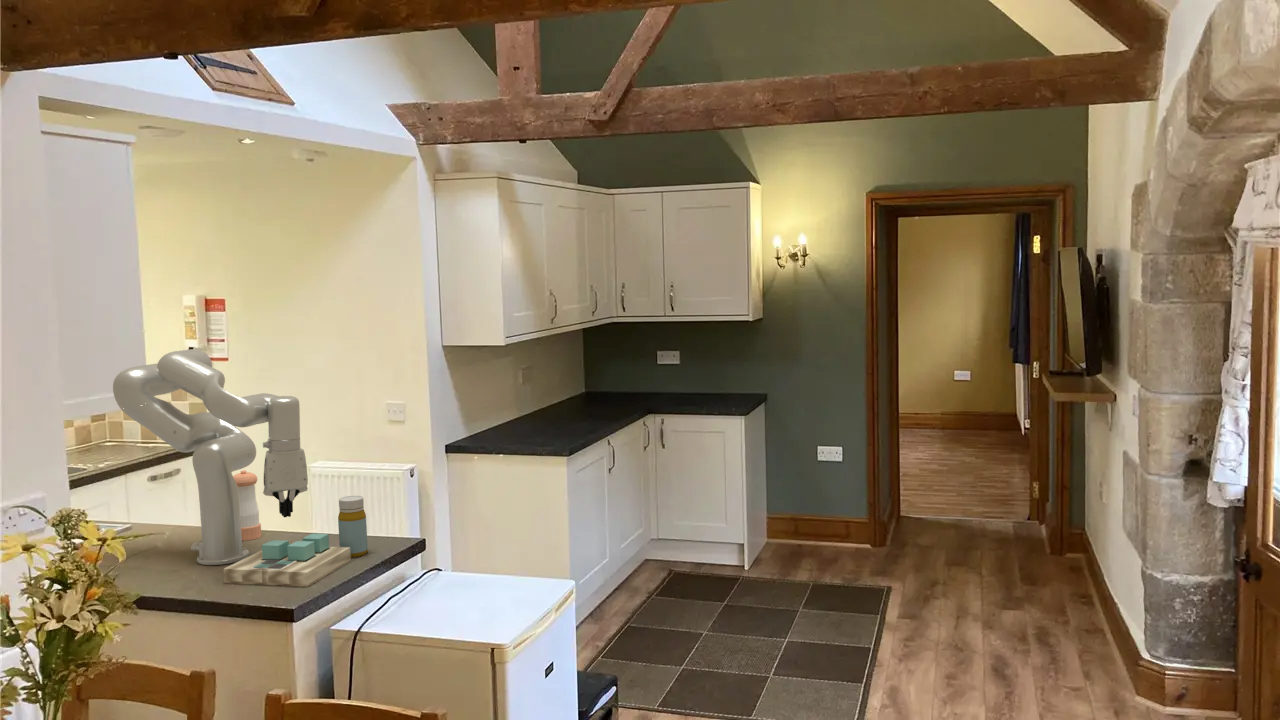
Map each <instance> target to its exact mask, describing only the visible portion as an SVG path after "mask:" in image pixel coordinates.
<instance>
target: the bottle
mask: <svg viewBox="0 0 1280 720" xmlns="http://www.w3.org/2000/svg"><path fill="white" fill-rule="evenodd" d="M364 501H365V500H364V497H363V496H362V495H347V496H346V495H345V496H342V497H340V498H339V499H338V507H339V510H338V511H339V513H338V516H337V523H338V524H337V525H338V540H339V541H338V542H339V547H350V554H351V559H352V558H353V559H354V558H359V557H363V556H365V555H366V554H367V553H368V551H369V550H368V549H369V546H368V544H369V543H368V530H367V529H368V528H367V514H366V512H365V510H364V509H365V508H364V507H365V505H364Z"/></svg>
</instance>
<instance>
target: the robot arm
mask: <svg viewBox="0 0 1280 720" xmlns="http://www.w3.org/2000/svg"><path fill="white" fill-rule="evenodd" d="M225 383H226V378H225V375H224V373H223V371H220V370H219V369H216V368H214V367H213V362H212V360H211V357H210V356H209V355H208V354H207V353H206V352H205V351H203V350H201V349H196V348H195V349H194V348H193V349H192V348H191V349H190V348H189V349H182V350H175V351H171V352H168V353H166V354H163V356H162V357H160V358H159V360H158V361H157V362H156V363H151V364H145V365H144V364H143V365H136V366H132V367H129V368H126V369H124V370H122V371H120V372H119V373H118V374H117V375H116V376H115V377H114V380H113V383H112V391H113V397H114V399H115V402H116V404H117V406H118V407H119V409H120V410H121V412H123V413H124V414H125V415H126V416H127V417H128V418H130V419H131V420H133V421H134V422H136V423H138V424H140V425H141V426H142V427H145V428H146V429H147V430H148V431H150V432H151V433H152V434H154V435H155V436H157V438H159V439H161V440H162V442H164V443H166V444H167V445H169V446H170V447H171V448H173V449H175V451H178V452H180V453H191V452H193V455H192V458H191V459H192V461H191V462H192V466H193V467H192V468H193V471H194V473H195V477H196V482H197V483H196V484H197V489H198V501H199V512H200V513H199V514H200V526H201V541H193V543H192V544H191V546H190V551H191V552H199V554H198V555H197V557H196V561H197V563H198V564H199V565H205V566H219V565H221V566H222V565H226V564H227V565H228V564H234V563H237V562H239V561H241V560H243V559H245V558H247V557H249V556H250V552H249V550H248V549H247V548H245V547H243V541H242V536H241V520H240V505H239V492H238V487H237V484H236V481H235V480H234V478H233V476H234V475H233V474H232V473H233V472H235V471H238V470H242V469H245V468H246V467H248V466H250V465H251V464H252V463H253V462H254V461H255V459H256V457H257V447H256V445H255V442H254V441H253V440H252V438H251V437H249V436H248V435H247V434H246V433H245V432H243V431H242V430H240V428H248V427H249V428H250V427H252V426H256V425H261V424H265V423H268V438H267V441H265V442H262V448H264V449H265V448H266V449H268V450H266V451H265V457H264V464H263V465H264V466H263V491H262V493H263V495H264V496H268V497H274V498H275V499H277V500H278V506H279V507H278V510H279V514H280V515H281V516H282V517H283V518H291V516H292V513H293V512H294V509H293V508H294V505H293V504H294V503H293V501H295V498H296V497H297V496H298V495H299V494H302V493H304V492H306V491H309V490H308V485H309V481H308V480H309V478H308V477H309V476H308V475H309V474H308V467H307V460H306V459H307V458H306V452H305V449H303V448H301V423H300V422H301V420H300V419H301V417H300V412H301V411H300V409H301V408H300V400H299V399H298V398H297V397H296V396H292V395H276V394H272V393H268V392H267V393H266V392H264V393H263V392H262V393H257V394H251V395H246V396H242V397H240V396H238V395H235V393H234V394H233V393H231V392H229V391H227V390H226V389H224V386H225ZM179 390H182V391H184V392H186V393H187V394H190V395H191V396H194V397H196V398H197V399H199V400H201V401H202V403H203V405H204V406H205V408H206V409H207V411H205V412H198V413H193V414H189V413H188V414H187V413H185V412H184V411H181V410H180V409H179V408H177V407H176V406H175V405H174V404H172V403H170V402H168V401H166V400H163V399H160V398H159V397H156V396H161V395H166V394H171V393H174V392H176V391H179ZM145 403H146V404H145ZM140 405H143V406H140ZM123 408H124V409H123ZM285 491H286V492H287V493H286V498H285Z"/></svg>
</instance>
